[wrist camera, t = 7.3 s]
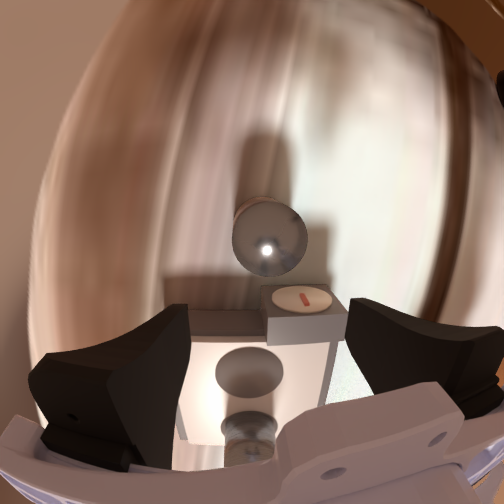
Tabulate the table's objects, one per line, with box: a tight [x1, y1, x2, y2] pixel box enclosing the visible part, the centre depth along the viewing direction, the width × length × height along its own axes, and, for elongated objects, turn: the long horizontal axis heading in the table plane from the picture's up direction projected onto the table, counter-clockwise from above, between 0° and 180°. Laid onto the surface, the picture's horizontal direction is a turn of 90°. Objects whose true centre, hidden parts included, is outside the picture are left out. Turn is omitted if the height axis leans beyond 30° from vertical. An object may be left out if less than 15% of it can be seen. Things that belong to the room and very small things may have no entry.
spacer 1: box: [232, 197, 307, 277], centre depth 17 cm, size 4×4×5 cm
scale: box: [175, 284, 348, 445], centre depth 20 cm, size 13×15×5 cm
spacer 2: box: [224, 411, 276, 468], centre depth 17 cm, size 4×4×5 cm
